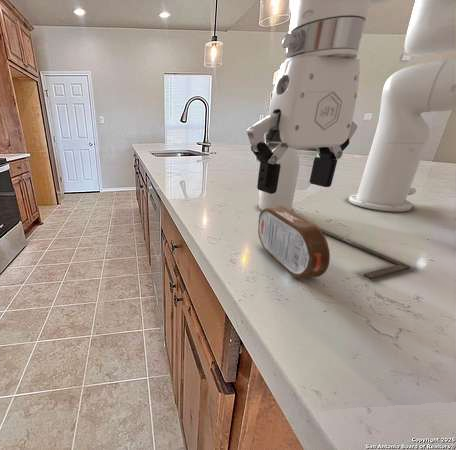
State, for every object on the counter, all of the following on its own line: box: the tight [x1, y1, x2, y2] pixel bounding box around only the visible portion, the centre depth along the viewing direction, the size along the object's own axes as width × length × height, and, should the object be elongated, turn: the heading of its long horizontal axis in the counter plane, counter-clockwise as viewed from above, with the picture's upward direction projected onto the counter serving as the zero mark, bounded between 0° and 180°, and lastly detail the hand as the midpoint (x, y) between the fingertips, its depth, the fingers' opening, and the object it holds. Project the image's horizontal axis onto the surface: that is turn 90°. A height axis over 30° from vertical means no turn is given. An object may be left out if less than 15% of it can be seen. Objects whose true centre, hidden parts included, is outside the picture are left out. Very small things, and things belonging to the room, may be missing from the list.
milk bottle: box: [258, 147, 300, 211], centre depth 60 cm, size 8×8×20 cm
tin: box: [257, 206, 331, 279], centre depth 39 cm, size 15×3×8 cm, turn 5°
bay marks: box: [318, 227, 412, 280], centre depth 46 cm, size 8×21×1 cm, turn 17°
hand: (293, 188), depth 36 cm, fingers open, 9 cm apart
